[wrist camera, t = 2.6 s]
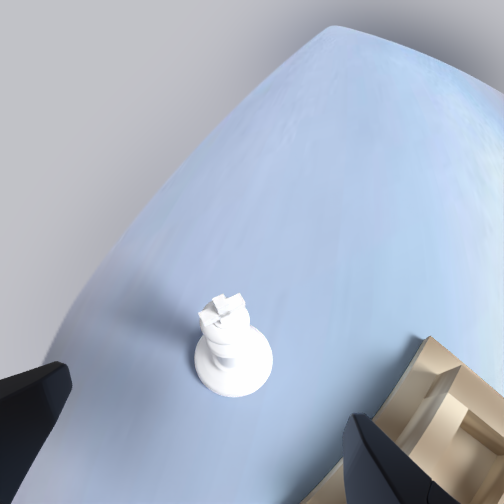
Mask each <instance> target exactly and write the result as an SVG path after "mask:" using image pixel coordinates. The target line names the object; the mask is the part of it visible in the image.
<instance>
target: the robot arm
mask: <svg viewBox="0 0 504 504" xmlns="http://www.w3.org/2000/svg"><path fill="white" fill-rule="evenodd" d="M71 390H72V380H71V376H70V372H69V368H68V366H67V365H66V364H64V363H61V362H58V361H55V362H52V363H49V364H46V365H43V366H41V367H38V368H35V369H32V370H29V371H26V372H23V373H20V374H17V375H14V376H11V377H8V378H4V379H1V380H0V504H11V502H12V500H13V498H14V496H15V495H16V493H17V491H18V489H19V487H20V485H21V483H22V481H23V480H24V478H25V476H26V474H27V472H28V470H29V469H30V467H31V465H32V463H33V461H34V460H35V458H36V456H37V454H38V453H39V451H40V449H41V447H42V446H43V444H44V442H45V441H46V439H47V437H48V436H49V434H50V432H51V431H52V429H53V427H54V425H55V424H56V422H57V420H58V418H59V415H60V413H61V411H62V409H63V407H64V405H65V403H66V400H67V398H68V396H69V394H70V392H71ZM343 476H344V487H345V494H346V501H347V504H461V503H460V502H458V501H457V500H456V499H454V498H453V497H452V496H451V495H450V494H448V493H447V492H446V491H445V490H444V489H443V488H442V487H440V486H439V485H438V484H437V483H436V482H435V481H434V480H432V478H431V477H430V476H429V475H428V474H427V473H425V472H424V471H423V470H422V469H421V468H420V467H419V466H418V465H417V464H416V463H415V462H414V461H413V460H412V459H411V458H410V457H409V456H408V455H407V454H406V453H405V452H404V451H403V450H402V449H400V448H399V447H398V446H397V445H396V444H395V443H394V442H393V441H392V440H391V439H390V438H389V437H388V436H387V435H386V434H385V433H384V432H383V431H382V430H381V429H380V428H379V427H378V426H377V425H376V424H375V423H374V422H373V421H372V420H371V419H370V418H369V417H368V416H367V415H366V414H364V413H352V414H351V415H350V417H349V419H348V422H347V424H346V427H345V429H344V432H343Z"/></svg>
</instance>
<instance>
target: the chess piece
mask: <svg viewBox="0 0 504 504" xmlns="http://www.w3.org/2000/svg"><path fill="white" fill-rule="evenodd" d="M198 314H199V316H200V328H201V330H202V332H203V336H202V337H201V338H200V340H199V342H198V344H197V346H196V349H195V355H194V361H195V368H196V372H197V374H198V376H199V378H200V380H201V381H202V382H203V384H204V385H205V386H206V387H207V388H208V389H210V390H211V391H213V392H215V393H217V394H219V395H222V396H226V397H241V396H245V395H248V394H251V393H253V392H254V391H256V390H257V389H259V388H260V387H261V386H262V385H263V384H264V383H265V381H266V380H267V378H268V377H269V375H270V372H271V369H272V363H273V358H272V351H271V348H270V345H269V343H268V341H267V339H266V338H265V336H264V335H263V334H262V333H261V332H260V331H259V330H258V329H256V328H255V327H253V326H251V325H249V324H250V318H249V314H248V311H247V310H246V308H245V301H244V300H243V298H242V296H241V294H240V293H238V294H236V295H234V296H232V297H230V298H225V296H224V294H221V295H219V296H217V297H215V298H213V299H212V301H211V302H210V303H208V304H207V305H206V306H205V307H204V309H203V310H202V312H200V313H198Z"/></svg>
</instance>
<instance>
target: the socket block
mask: <svg viewBox="0 0 504 504" xmlns="http://www.w3.org/2000/svg"><path fill="white" fill-rule="evenodd" d="M372 421H373V422H374V423H375V424H376V425H377V426H378V427H379V428H380V429H381V430H382V431H383V432H384V433H385V434H386V435H387V436H388V437H389V438H390V439H391V440H392V441H393V442H394V443H395V444H396V445H397V446H398V447H399V448H400V449H402V450H403V451H404V452H405V453H406V454H407V455H408V456H409V457H410V458H411V459H412V460H413V461H414V462H415V463H416V464H417V465H418V466H419V467H420V468H421V469H422V470H423V471H424V472H425V473H427V474H428V475H429V476H430V477H431V478H432V480H434V481H435V482H436V483H437V484H438V485H439V486H440V487H442V488H443V489H444V490H445V491H446V492H447V493H448V494H450V495H451V496H452V497H453V498H454V499H456V500H457V501H458V502H460V503H461V504H504V398H503V397H502V396H501V395H500V394H499V393H498V392H497V391H495V390H494V389H493V388H492V387H491V386H490V385H489V384H487V383H486V382H485V381H484V380H483V379H482V378H480V377H479V376H478V375H477V374H476V373H475V372H473V371H472V370H471V369H470V368H469V367H468V366H466V365H465V364H464V363H463V362H462V361H460V360H459V359H458V358H457V357H456V356H454V355H453V354H452V353H451V352H450V351H448V350H447V349H446V348H445V347H444V346H442V345H441V344H440V343H439V342H437V341H436V340H435V339H434V338H433V337H431V336H429V337H427V338H426V339H424V340H423V342H422V344H421V345H420V347H419V349H418V351H417V352H416V354H415V356H414V357H413V359H412V361H411V362H410V364H409V366H408V367H407V369H406V370H405V372H404V374H403V375H402V377H401V378H400V380H399V381H398V383H397V384H396V386H395V388H394V389H393V391H392V392H391V393H390V395H389V396H388V398H387V399H386V401H385V402H384V404H383V405H382V406H381V408H380V409H379V411H378V412H377V413H376V415H375V416H374V418H373V419H372ZM299 504H347V501H346V494H345V487H344V476H343V457H342V458H341V459H340V460H339V462H338V463H337V464H336V465H335V466H334V467H333V468H332V470H331V471H330V472H329V473H328V474H327V475H326V476H325V477H324V478H323V480H322V481H321V482H320V483H319V484H318V485H317V486H316V487H315V488H314V489H313V490H312V491H311V492H310V493H309V494H308V495H307V496H306V497H305V498H304V499H303V500H302V501H301V502H300V503H299Z"/></svg>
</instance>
